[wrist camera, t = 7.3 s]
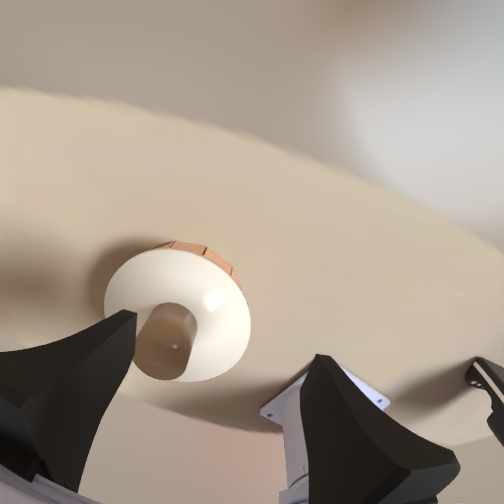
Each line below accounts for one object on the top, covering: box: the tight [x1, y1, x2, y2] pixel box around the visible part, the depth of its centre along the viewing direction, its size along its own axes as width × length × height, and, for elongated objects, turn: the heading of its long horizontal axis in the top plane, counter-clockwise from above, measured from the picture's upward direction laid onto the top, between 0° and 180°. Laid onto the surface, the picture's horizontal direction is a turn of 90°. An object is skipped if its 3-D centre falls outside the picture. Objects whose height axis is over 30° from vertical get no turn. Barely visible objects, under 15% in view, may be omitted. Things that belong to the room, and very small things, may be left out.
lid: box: [104, 248, 251, 382], centre depth 16 cm, size 9×9×4 cm
